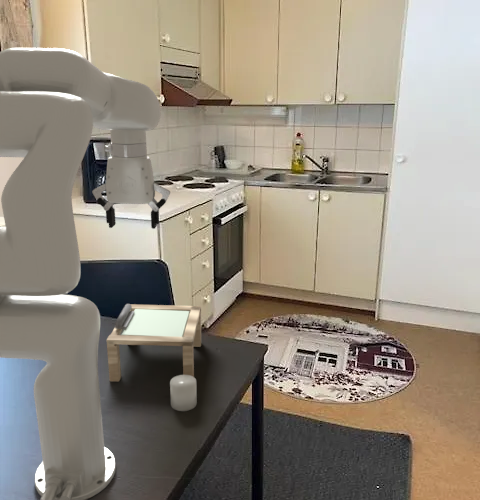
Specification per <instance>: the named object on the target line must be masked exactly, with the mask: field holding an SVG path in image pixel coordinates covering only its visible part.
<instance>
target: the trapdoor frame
mask: <svg viewBox="0 0 480 500" xmlns="http://www.w3.org/2000/svg"><path fill="white" fill-rule="evenodd" d="M129 304H130V303H129ZM130 305H131V306H132V308H131V310H130V311H134V310H135V309H151V310H175V311H189V318H188V321H187V325H186V328H185V332H184V335H183V337H172V336H134V335H121V334H122V332H123V331H124V329H115V327H114V328H113V330H112V332H111V333H110V334H109V335H108V336H107V338H106V352H107V361H108V362H107V364H108V366H107V367H108V375H109V376H108V377H109V382H120V380H121V378H122V368H121V352H120V345H127V346H160V347H161V346H164V347H165V346H166V347H167V346H168V347H169V346H171V347H182V367H183V368H182V375H190V376H193V377H194V378H195V369H194V368H195V366H194V365H195V361H194V359H195V357H194V355H195V354H194V347H197V348H198V347H199V348H202V347H201V346H202V306H201V305H172V304H171V305H170V304H169V305H166V304H165V305H164V304H159V305H158V304H136V303H134V304H130Z"/></svg>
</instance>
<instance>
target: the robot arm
mask: <svg viewBox="0 0 480 500" xmlns="http://www.w3.org/2000/svg"><path fill="white" fill-rule="evenodd" d="M161 111H162V110H161V104H160V101H159V99H158V97H157V95H156V93H155V92H154V91H153V90H152V89H151V88H150V87H149V86H148V85H146V84H145V83H141V82H138V81H135V80H132V79H128V78H123V77H120V76H117V75H114V74H111V73H107V72H104V71H103V70H100V69H99V68H98V67H97V66H96V65H94V64H93V63H92V62H90V60H89V59H87V58H86V57H84V56H83V55H82V54H80V53H79V52H76V51H74V50H70V49H66V48H58V47H53V48H51V47H50V48H49V47H47V48H45V47H44V48H43V47H37V48H36V47H11V48H10V47H9V48H5V49H3V50H1V51H0V158H1V157H2V158H22V161H21V162H20V163H19V164H18V166H17V167H16V168H15V169H14V171H13V172H12V173H11V175H10V176H9V178H8V180H7V182H6V183H5V185H4V187H3V189H2V193H1V198H0V199H1V200H0V201H1V208H2V214H3V219H4V224H5V226H0V358H1V359H2V358H3V359H18V360H21V359H22V360H23V359H24V360H25V359H26V360H34V361H35V360H36V361H38V360H39V361H44V362H46V364H45V366H44V367H43V368H42V369H41V370H40V372H39V373H38V374H37V376H36V378H35V381H34V384H33V398H34V403H35V404H34V405H35V412H36V419H37V421H36V422H37V428H38V434H39V442H40V443H39V444H40V449H41V457H42V459H41V460H42V461H41V463H40V464H39V465H38V467H37V469H36V471H35V474H34V487H35V489H36V491H37V494H39V496H40V499H39V500H88V499H90V498H92V497H94V496H96V495H98V494H99V493H100V492H102V491H103V490H105V489H106V487H107V486H108V485H109V484H110V483H111V481H112V479H113V478H114V476H115V475H116V467H117V463H116V458H115V455H114V453H112V451H111V450H110V449H109V448H107V447H105V439H104V438H105V437H104V429H103V428H104V427H103V416H102V415H103V414H102V405H101V404H102V403H101V392H100V380H99V366H98V365H99V364H98V363H99V360H98V359H99V358H98V357H99V343H100V342H99V341H100V331H101V313H100V310H99V309H98V306H97V305H96V304H95V303H94V302H93V301H91V300H90V299H87V298H86V297H83V296H77V295H72V294H68V293H70V292H71V291H73V290H74V289H75V288H76V287H77V286H78V284H79V282H80V279H81V273H82V272H81V270H82V269H81V258H80V257H81V256H80V250H79V244H78V237H77V236H78V235H77V229H76V224H75V217H74V216H75V215H74V209H73V202H72V199H73V197H72V195H73V188H74V185H75V181H76V178H77V175H78V171H79V169H80V167H81V164H82V161H83V159H84V157H85V155H86V152H87V149H88V146H89V144H90V141H91V138H92V133H93V129H94V128H95V129H97V130H101V131H102V130H103V131H110V132H109V135H110V143H109V144H108V145H104V152H108V153H110V156H109V157H107V164H106V180H105V183H104V184H101V185H100V186H98V187H96V188H94V189H93V190H92V194H93V196H94V198H95V200H96V201H97V203H98V204H99V205H100V206H101V207H102V208H103V210H104V211H105V216H106V217H105V218H106V219H105V220H106V224H108V227H109V229H111V228H113V227H114V226H115V225H116V224H117V223H116V209H115V207H113V206H114V205H116V204H120V205H121V204H122V205H123V204H125V205H146V204H147V205H148V206H149V207H150V208H151V211H150V222H151V224H150V225H151V226H150V228H151V229H153V230H154V229H156V227H157V226H158V225H160V209H161V208H162V207H163V206H164V205H166V203H167V200H168V199H169V197H170V195H171V191H170V190H169V189H167V188H166V187H164V186H162V185H160V184H158V183H156V182H155V180H154V179H155V178H154V177H155V176H154V171H153V165H152V161H151V158H150V156H148V154H147V151H148V149H147V131H153V130H155V129H156V127H157V126H158V125H159V123H160V121H161V115H162V114H161ZM93 127H94V128H93ZM104 191H106V192H105V193H106V198H105V197H104V196H103V195H102V193H104ZM156 192H158V193H159V194H161V195H162V197H161V198H160V200H159V201H157V199H155V197H156Z"/></svg>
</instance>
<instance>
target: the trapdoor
mask: <svg viewBox="0 0 480 500" xmlns="http://www.w3.org/2000/svg"><path fill="white" fill-rule="evenodd" d="M131 308H132V306H131V305H130V303H126V304H125V305H124V306H123V308H122V310H121V311H120V313H119V315H118V317H117V319H116V320H115V321H114V328H115V329H123V330H122V332H121V334H120V335H134V336H172V337H183V335H184V332H185V328H186V325H187V321H188V318H189V314H190V313H189V311H175V310H151V309H135V310H134V311H130V310H131Z"/></svg>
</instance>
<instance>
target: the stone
mask: <svg viewBox="0 0 480 500" xmlns="http://www.w3.org/2000/svg"><path fill="white" fill-rule="evenodd" d="M169 387H170V389H169V390H170V407H171V408H172V409H173V410H174V411H177V412H187V411H190V410H193V409H194V408H195V407H196V406H197V405H198V402H197V401H198V400H197V398H198V397H197V396H198V394H197V379H196V378H195V376H194V377H193V376H190V375H183V374H178V375H176V376H173V377H172V378H171V379H170V381H169Z"/></svg>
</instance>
